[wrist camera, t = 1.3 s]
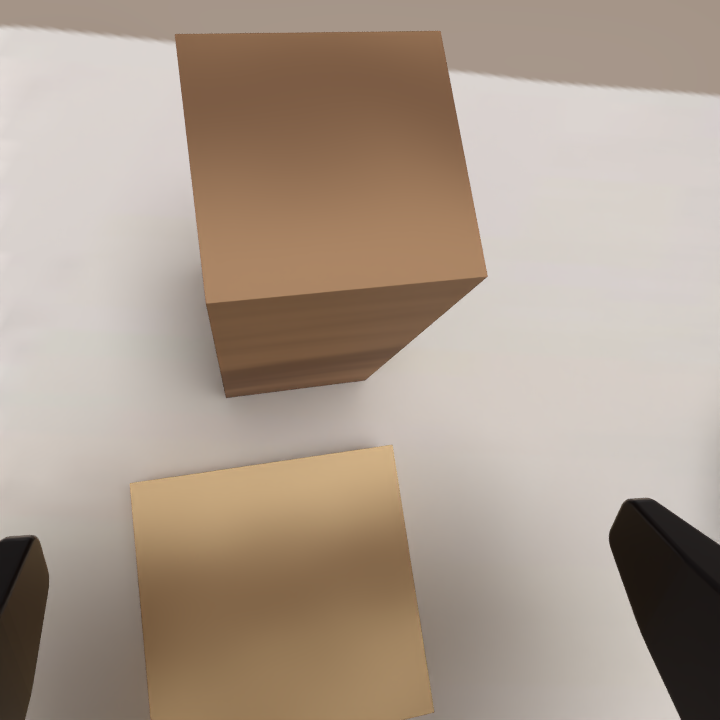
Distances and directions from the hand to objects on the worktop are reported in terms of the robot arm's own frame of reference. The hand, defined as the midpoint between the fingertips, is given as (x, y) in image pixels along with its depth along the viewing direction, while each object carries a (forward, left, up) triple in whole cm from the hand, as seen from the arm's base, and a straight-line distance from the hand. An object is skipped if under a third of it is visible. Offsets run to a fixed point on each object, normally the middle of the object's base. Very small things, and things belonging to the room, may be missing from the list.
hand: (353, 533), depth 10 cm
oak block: (-3, +1, -13) cm, 13 cm away
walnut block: (+6, -1, -12) cm, 14 cm away
